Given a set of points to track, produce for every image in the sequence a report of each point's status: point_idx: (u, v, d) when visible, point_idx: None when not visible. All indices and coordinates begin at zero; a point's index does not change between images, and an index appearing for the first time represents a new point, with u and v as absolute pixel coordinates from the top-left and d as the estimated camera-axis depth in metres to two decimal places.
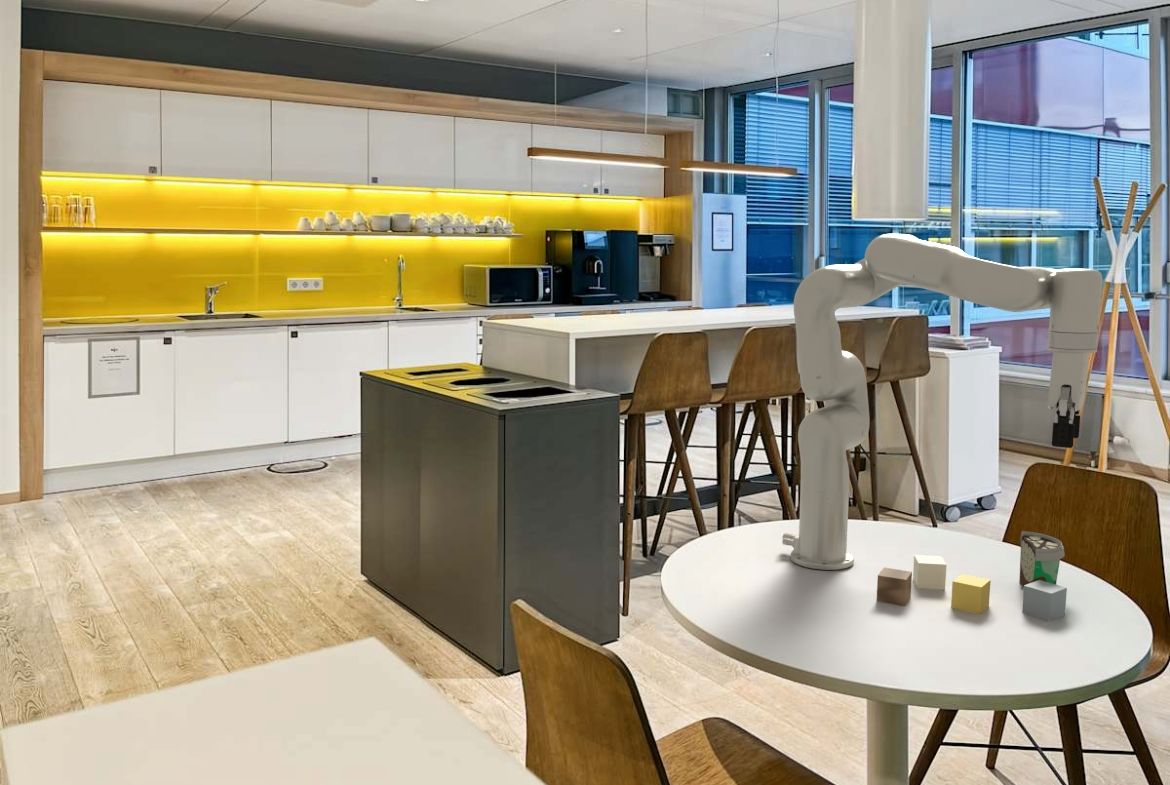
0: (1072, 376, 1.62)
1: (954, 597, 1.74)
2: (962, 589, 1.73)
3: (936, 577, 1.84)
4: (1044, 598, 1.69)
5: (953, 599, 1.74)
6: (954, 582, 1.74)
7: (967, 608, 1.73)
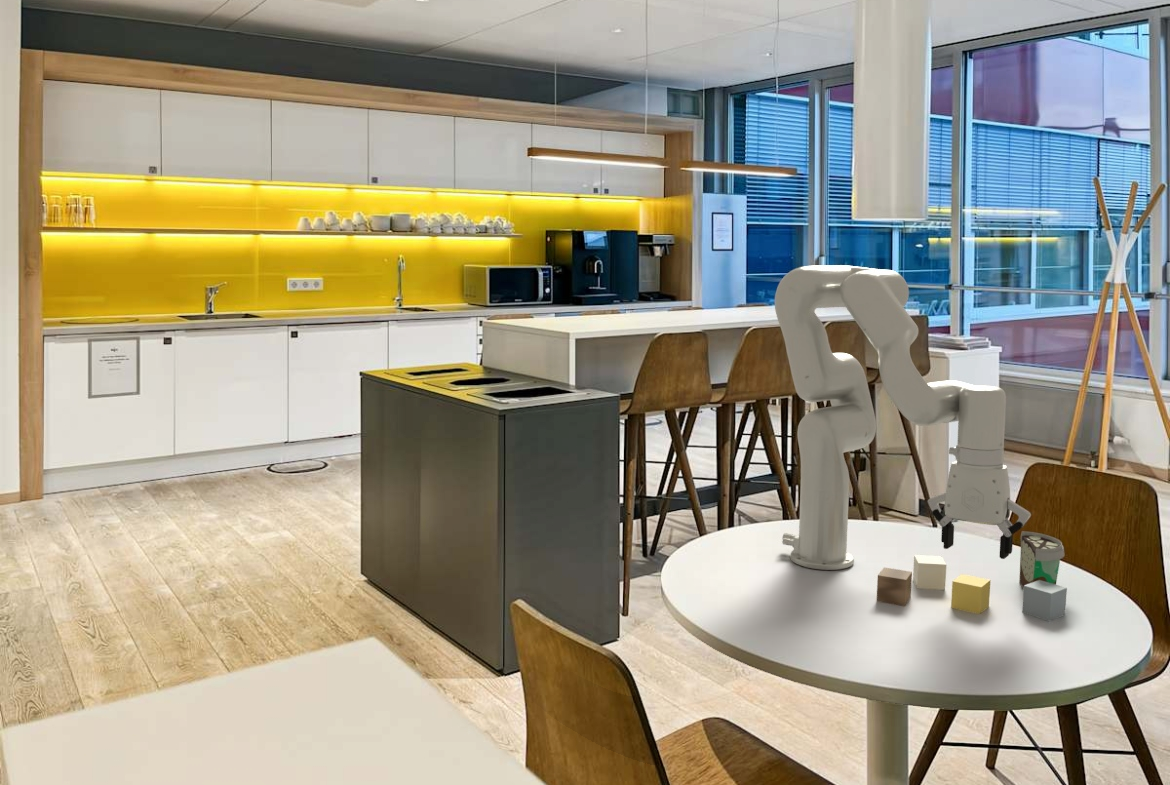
0: (1009, 489, 1.69)
1: (954, 597, 1.74)
2: (962, 589, 1.73)
3: (936, 577, 1.84)
4: (1044, 598, 1.69)
5: (953, 599, 1.74)
6: (954, 582, 1.74)
7: (967, 608, 1.73)
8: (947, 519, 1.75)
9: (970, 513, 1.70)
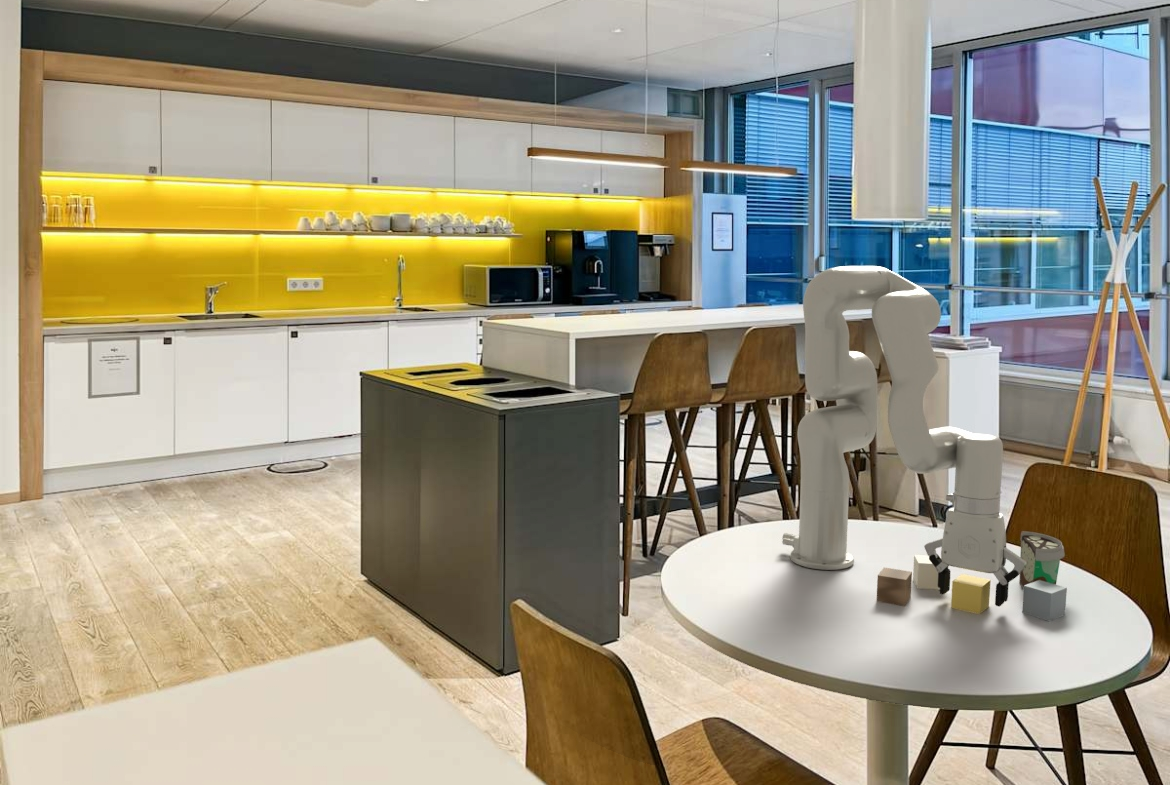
0: (1005, 537, 1.71)
1: (954, 597, 1.74)
2: (962, 589, 1.73)
3: (936, 577, 1.84)
4: (1044, 598, 1.69)
5: (953, 599, 1.74)
6: (954, 582, 1.74)
7: (967, 608, 1.73)
8: (943, 565, 1.76)
9: (966, 560, 1.72)
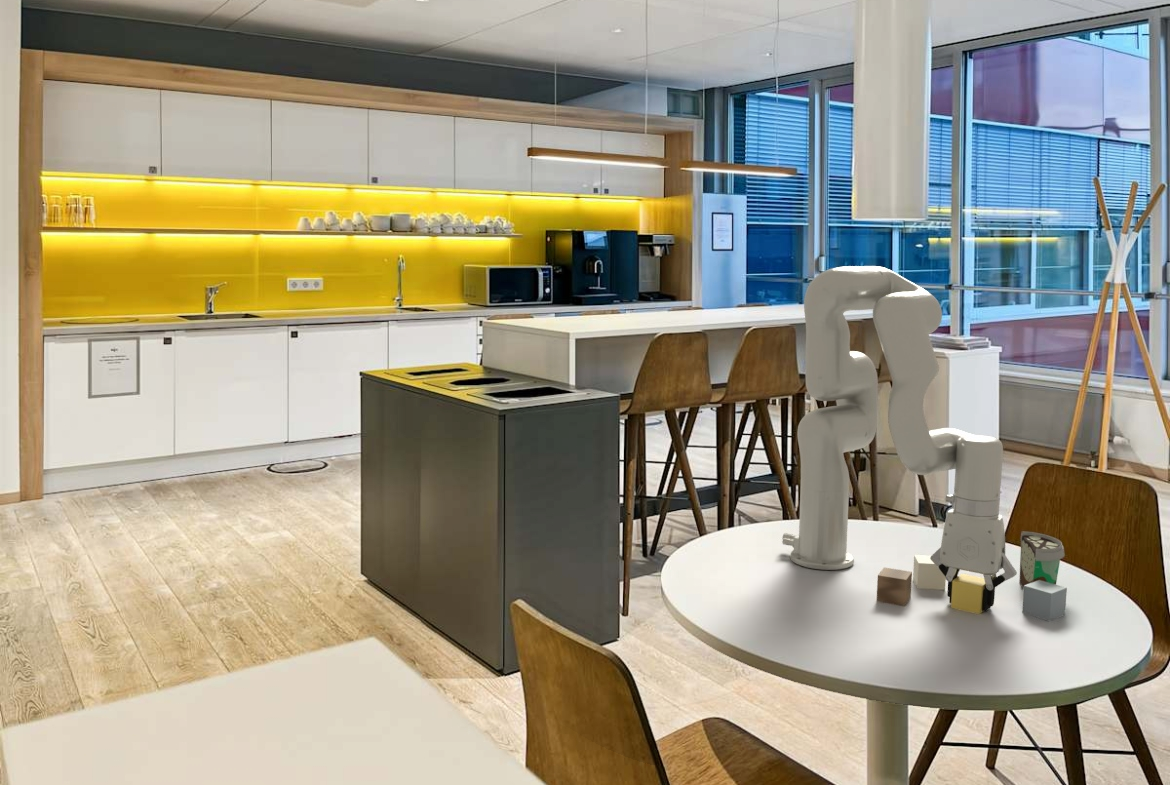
0: (1004, 539, 1.71)
1: (954, 597, 1.74)
2: (962, 589, 1.73)
3: (936, 577, 1.84)
4: (1044, 598, 1.69)
5: (953, 599, 1.74)
6: (954, 582, 1.74)
7: (967, 608, 1.73)
8: (953, 574, 1.75)
9: (965, 562, 1.72)
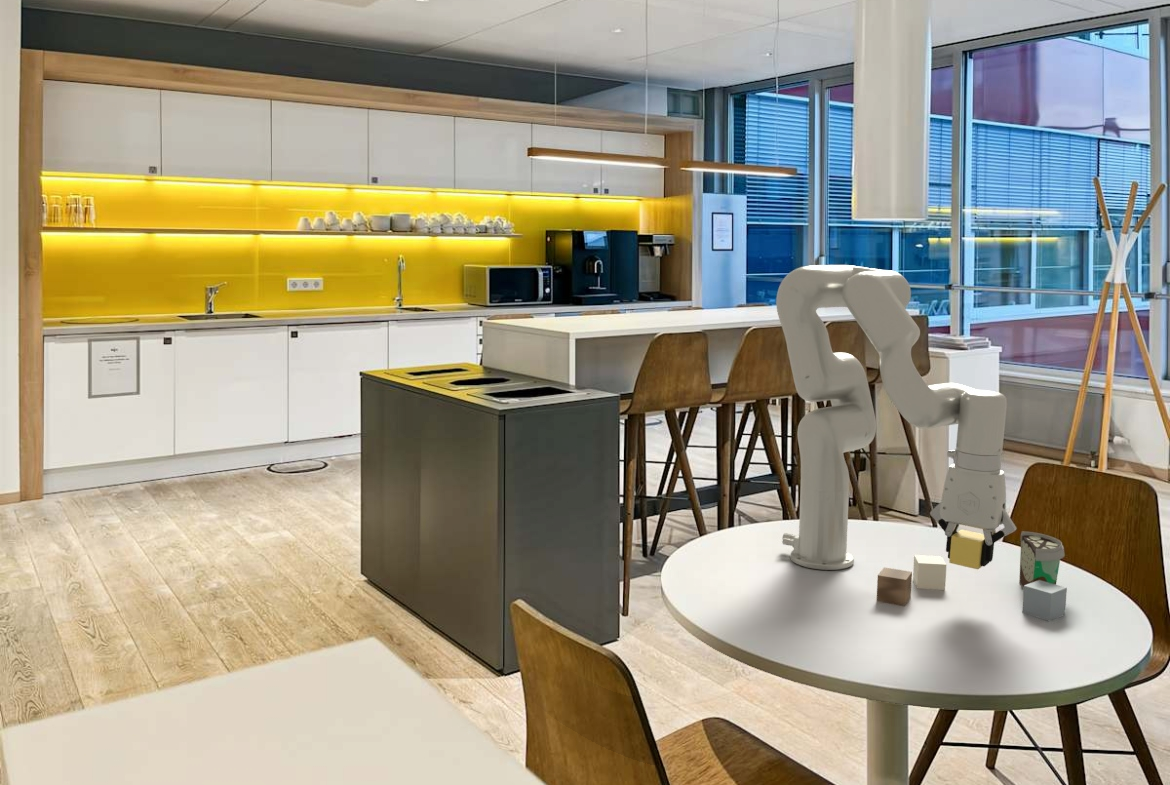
0: (1005, 494, 1.70)
1: (953, 552, 1.74)
2: (961, 544, 1.73)
3: (936, 577, 1.84)
4: (1044, 598, 1.69)
5: (952, 554, 1.74)
6: (953, 537, 1.73)
7: (965, 563, 1.73)
8: (953, 529, 1.74)
9: (965, 517, 1.71)
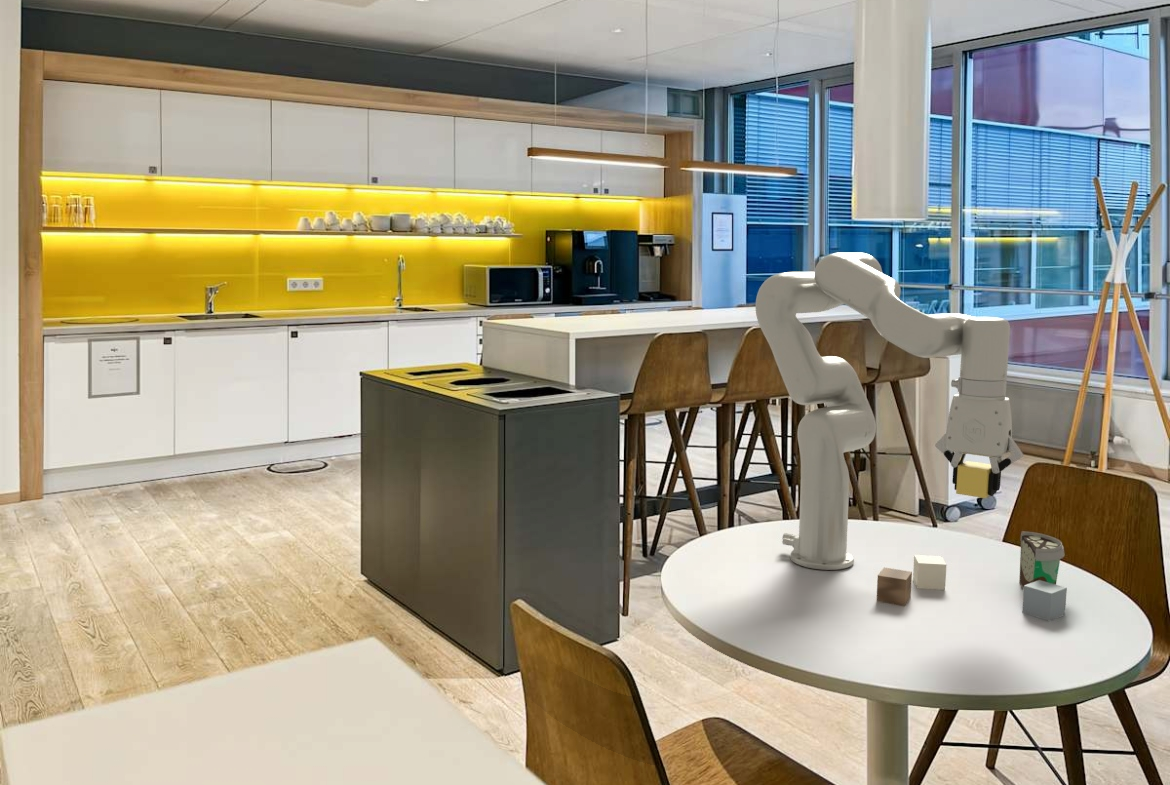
0: (1010, 421, 1.68)
1: (959, 482, 1.72)
2: (968, 473, 1.70)
3: (936, 577, 1.84)
4: (1044, 598, 1.69)
5: (958, 484, 1.72)
6: (959, 466, 1.71)
7: (972, 493, 1.70)
8: (959, 460, 1.72)
9: (971, 445, 1.69)
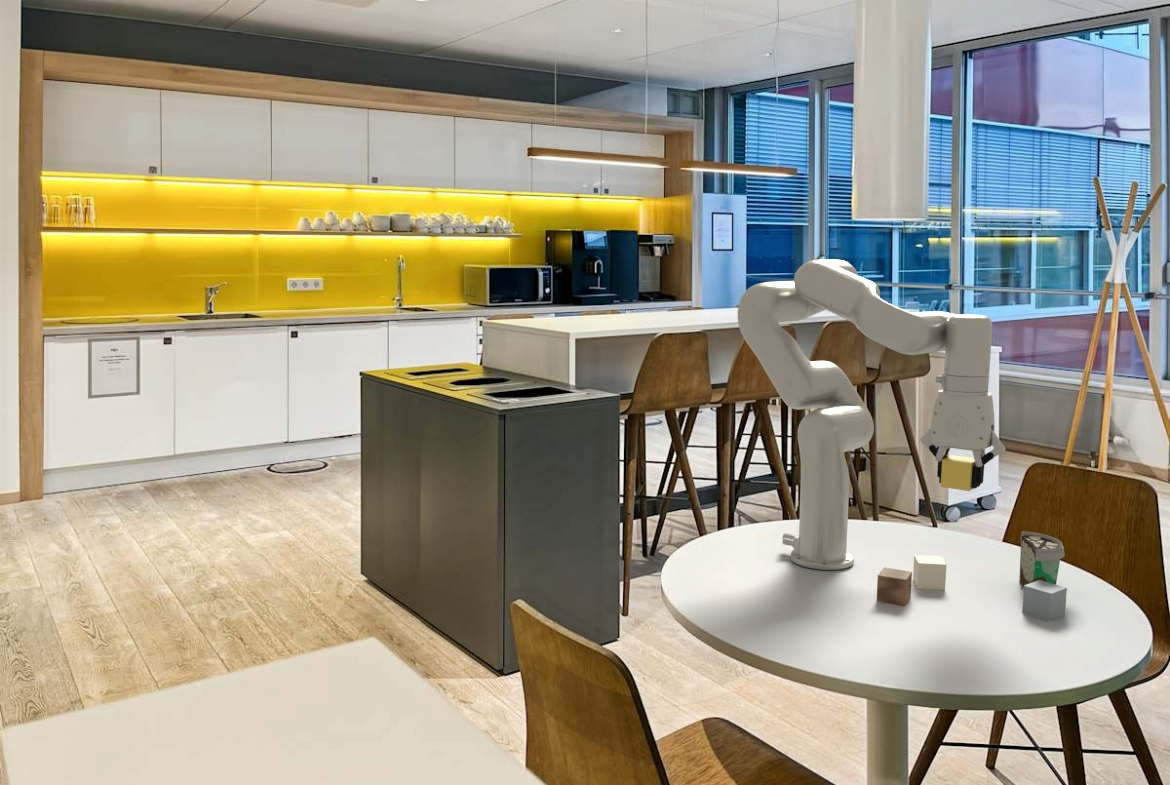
0: (993, 416, 1.73)
1: (944, 475, 1.76)
2: (952, 467, 1.75)
3: (936, 577, 1.84)
4: (1044, 598, 1.69)
5: (943, 477, 1.76)
6: (944, 460, 1.76)
7: (956, 486, 1.75)
8: (943, 454, 1.77)
9: (955, 439, 1.74)
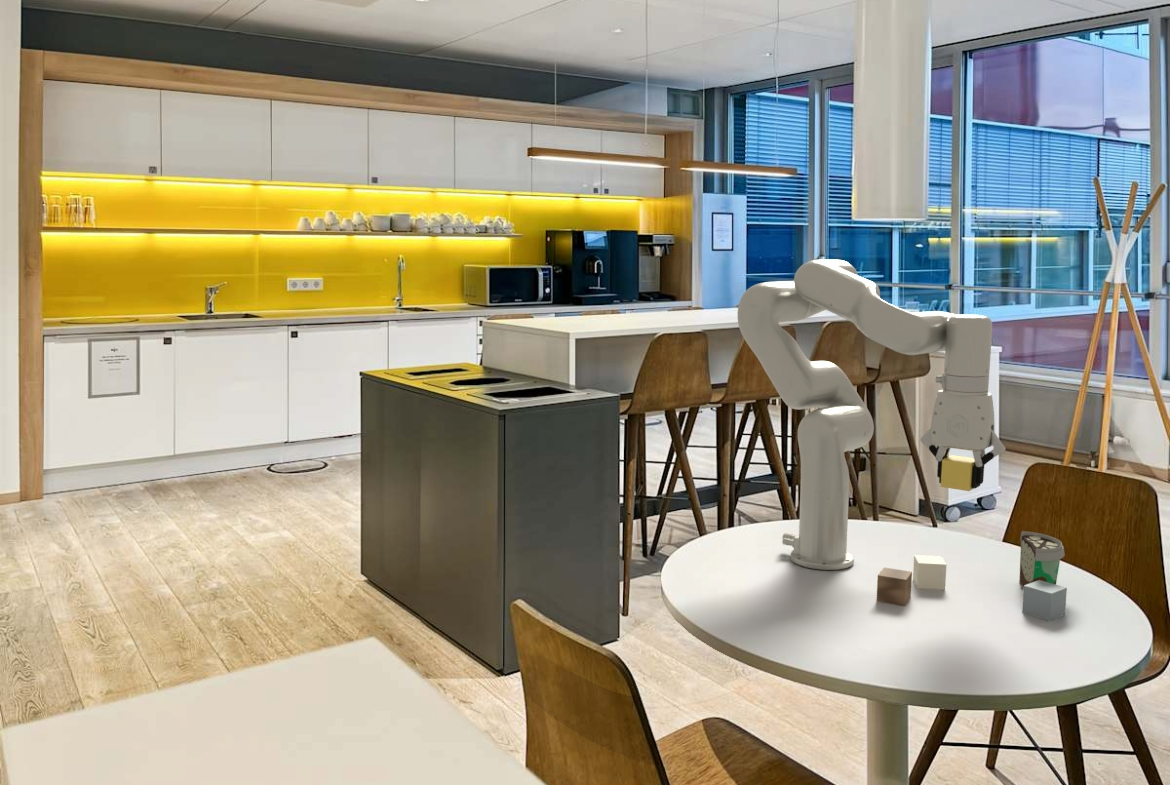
0: (993, 416, 1.73)
1: (944, 475, 1.76)
2: (952, 467, 1.75)
3: (936, 577, 1.84)
4: (1044, 598, 1.69)
5: (943, 477, 1.76)
6: (944, 460, 1.76)
7: (956, 486, 1.75)
8: (943, 454, 1.77)
9: (955, 439, 1.74)
